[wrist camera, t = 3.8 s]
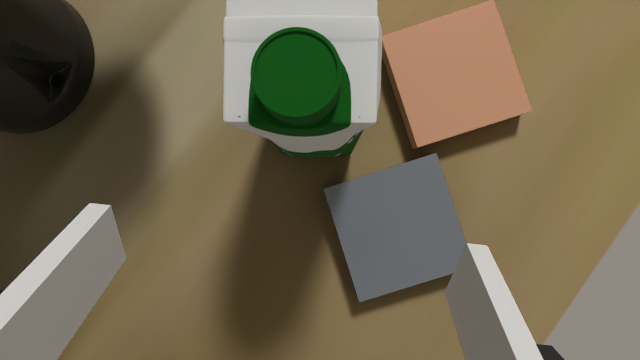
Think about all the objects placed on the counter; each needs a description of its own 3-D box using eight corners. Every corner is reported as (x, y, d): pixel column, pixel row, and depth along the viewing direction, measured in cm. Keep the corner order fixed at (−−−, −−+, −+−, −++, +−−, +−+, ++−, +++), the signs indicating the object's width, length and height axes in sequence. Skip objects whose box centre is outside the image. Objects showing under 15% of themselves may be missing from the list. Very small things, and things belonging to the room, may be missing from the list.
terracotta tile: (378, 45, 35) (380, 36, 33) (484, 10, 35) (493, -1, 33) (412, 149, 35) (417, 147, 33) (520, 115, 34) (532, 110, 32)
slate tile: (323, 188, 35) (323, 188, 33) (430, 154, 35) (436, 152, 33) (357, 295, 35) (359, 302, 33) (466, 262, 34) (474, 266, 32)
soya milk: (272, 162, 35) (193, 126, 15) (273, 72, 35) (197, -80, 15) (360, 163, 35) (398, 127, 15) (361, 72, 35) (399, -82, 15)
